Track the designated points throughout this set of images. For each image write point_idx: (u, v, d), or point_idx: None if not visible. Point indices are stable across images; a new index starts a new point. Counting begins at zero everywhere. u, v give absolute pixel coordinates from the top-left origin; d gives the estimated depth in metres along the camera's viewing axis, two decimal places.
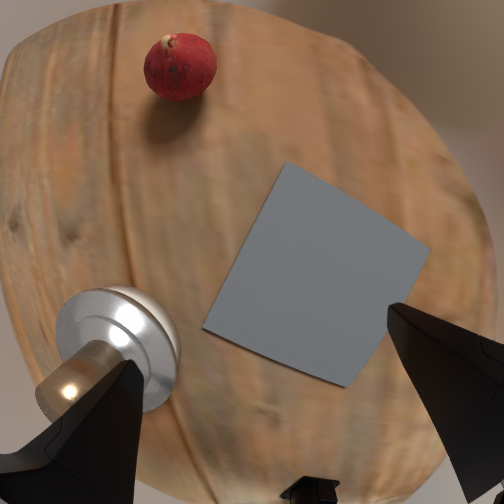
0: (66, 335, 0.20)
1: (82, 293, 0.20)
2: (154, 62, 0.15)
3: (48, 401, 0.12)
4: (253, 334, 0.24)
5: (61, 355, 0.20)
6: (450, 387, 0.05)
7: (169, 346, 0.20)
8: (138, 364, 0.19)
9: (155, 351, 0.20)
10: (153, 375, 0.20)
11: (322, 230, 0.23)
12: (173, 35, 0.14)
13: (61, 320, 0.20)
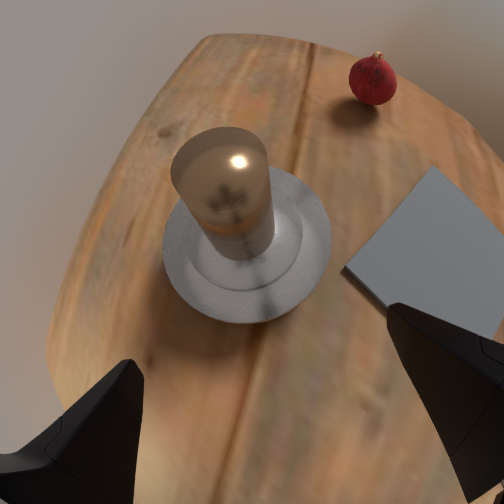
0: None
1: None
2: (366, 63, 0.23)
3: (207, 147, 0.12)
4: (393, 287, 0.21)
5: (170, 220, 0.21)
6: (450, 387, 0.05)
7: (330, 239, 0.19)
8: (291, 238, 0.18)
9: (314, 237, 0.19)
10: (296, 265, 0.18)
11: (455, 217, 0.22)
12: None
13: None
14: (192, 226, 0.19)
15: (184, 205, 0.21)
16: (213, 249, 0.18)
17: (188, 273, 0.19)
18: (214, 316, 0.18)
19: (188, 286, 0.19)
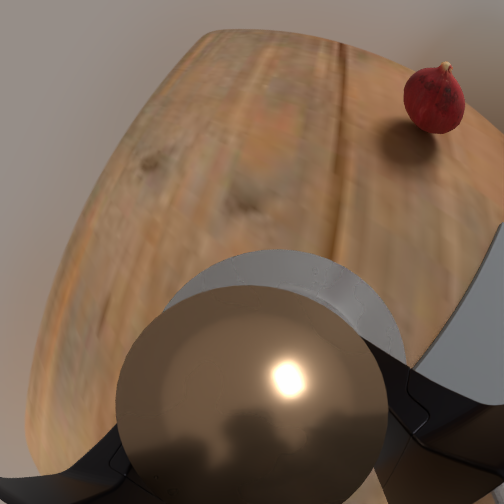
0: None
1: (285, 251, 0.13)
2: (432, 77, 0.15)
3: (208, 368, 0.04)
4: None
5: None
6: None
7: None
8: None
9: None
10: None
11: None
12: None
13: (204, 282, 0.13)
14: None
15: None
16: None
17: None
18: None
19: None
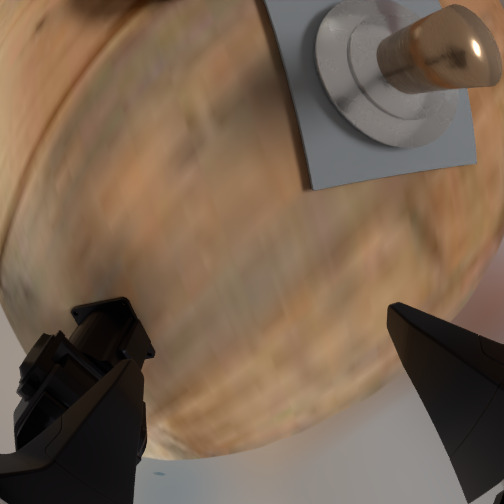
0: (397, 15, 0.12)
1: None
2: None
3: (478, 31, 0.06)
4: (297, 25, 0.14)
5: None
6: (450, 387, 0.05)
7: (430, 141, 0.16)
8: (420, 109, 0.14)
9: (427, 126, 0.16)
10: (402, 122, 0.16)
11: None
12: None
13: (410, 14, 0.12)
14: (379, 21, 0.12)
15: (384, 5, 0.12)
16: (376, 48, 0.13)
17: (339, 35, 0.13)
18: (324, 76, 0.14)
19: (330, 41, 0.13)
